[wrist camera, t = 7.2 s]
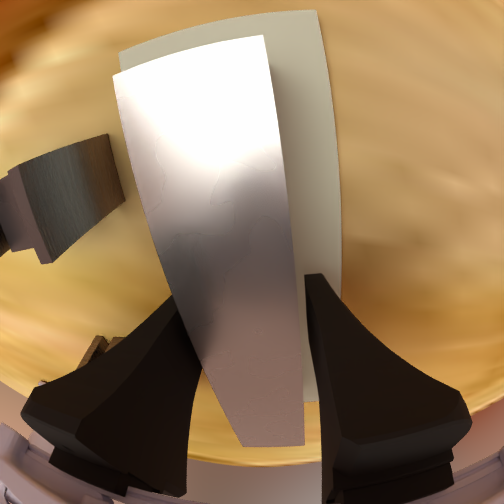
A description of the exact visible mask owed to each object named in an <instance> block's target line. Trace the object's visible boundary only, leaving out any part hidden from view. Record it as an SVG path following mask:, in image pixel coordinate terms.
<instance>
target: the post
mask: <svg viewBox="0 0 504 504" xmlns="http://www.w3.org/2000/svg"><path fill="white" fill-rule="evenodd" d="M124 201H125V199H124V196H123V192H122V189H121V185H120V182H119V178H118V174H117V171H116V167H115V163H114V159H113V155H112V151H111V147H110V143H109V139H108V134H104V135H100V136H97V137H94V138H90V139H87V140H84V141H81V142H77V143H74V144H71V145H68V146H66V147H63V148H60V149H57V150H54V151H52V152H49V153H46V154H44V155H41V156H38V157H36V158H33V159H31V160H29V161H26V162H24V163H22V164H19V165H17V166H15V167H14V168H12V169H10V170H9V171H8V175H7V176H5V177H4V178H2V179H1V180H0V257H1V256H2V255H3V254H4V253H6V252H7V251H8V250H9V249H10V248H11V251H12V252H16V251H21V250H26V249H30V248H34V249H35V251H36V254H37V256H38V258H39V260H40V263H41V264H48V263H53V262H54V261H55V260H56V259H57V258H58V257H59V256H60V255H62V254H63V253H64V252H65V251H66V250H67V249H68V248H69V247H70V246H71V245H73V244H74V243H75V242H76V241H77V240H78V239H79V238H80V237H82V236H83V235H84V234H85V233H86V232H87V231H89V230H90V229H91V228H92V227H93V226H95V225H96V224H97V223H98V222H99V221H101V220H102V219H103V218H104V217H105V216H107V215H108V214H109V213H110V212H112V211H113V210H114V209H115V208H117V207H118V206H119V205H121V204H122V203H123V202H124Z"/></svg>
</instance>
